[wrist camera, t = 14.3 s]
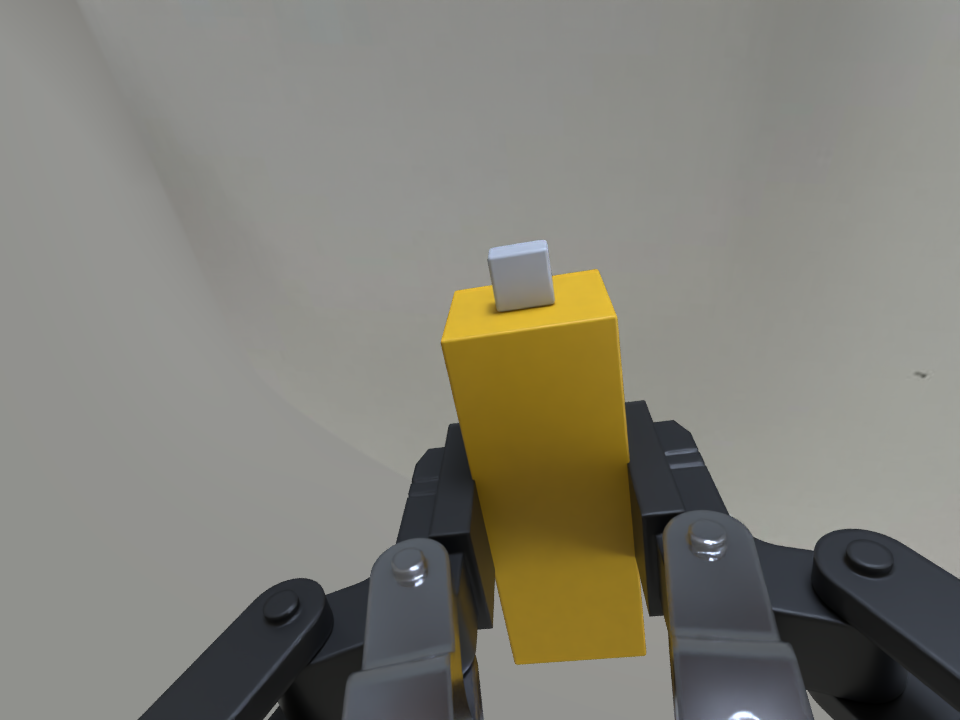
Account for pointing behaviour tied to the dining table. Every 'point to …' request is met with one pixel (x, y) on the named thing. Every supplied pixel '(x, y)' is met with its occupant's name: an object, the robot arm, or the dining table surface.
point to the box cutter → (549, 454)
